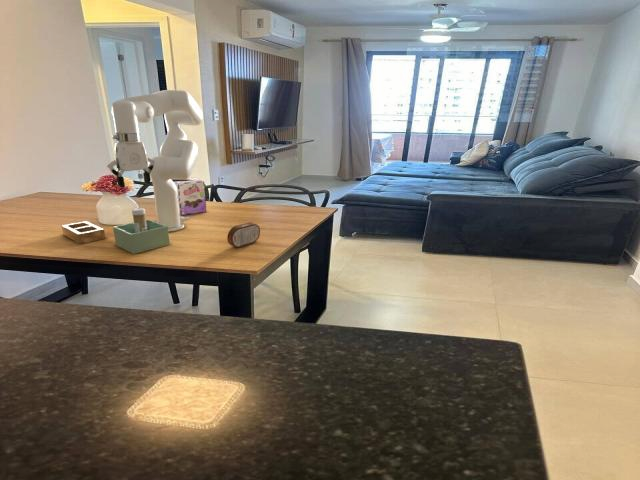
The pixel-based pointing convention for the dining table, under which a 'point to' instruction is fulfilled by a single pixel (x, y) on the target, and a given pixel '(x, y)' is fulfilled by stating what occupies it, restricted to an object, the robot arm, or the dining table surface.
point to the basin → (141, 237)
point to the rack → (83, 232)
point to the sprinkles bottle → (139, 219)
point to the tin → (243, 234)
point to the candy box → (191, 197)
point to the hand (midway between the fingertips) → (135, 185)
